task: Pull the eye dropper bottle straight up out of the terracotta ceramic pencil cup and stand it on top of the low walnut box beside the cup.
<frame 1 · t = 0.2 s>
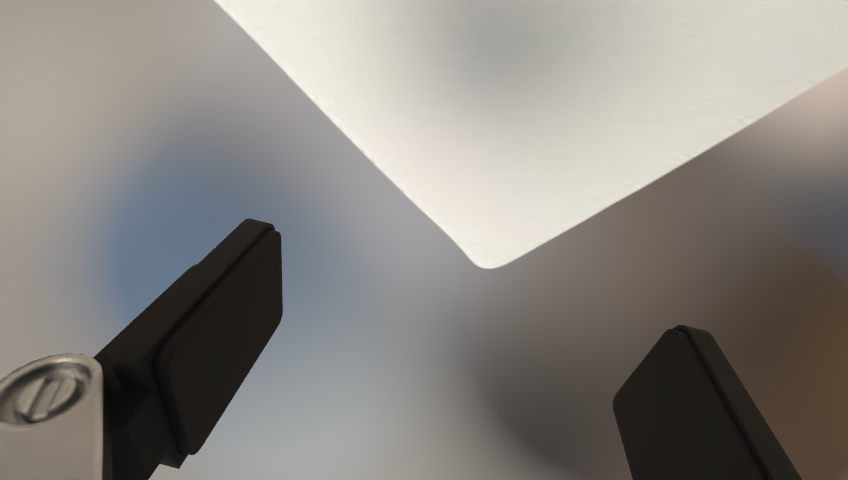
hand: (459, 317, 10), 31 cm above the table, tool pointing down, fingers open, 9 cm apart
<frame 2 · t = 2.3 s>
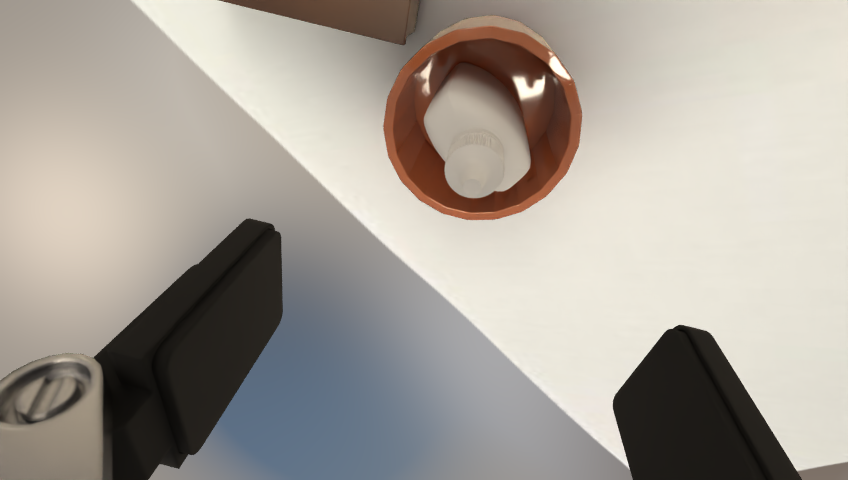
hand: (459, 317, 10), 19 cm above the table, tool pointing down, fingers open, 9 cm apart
eye dropper bottle: (482, 103, 25), resting on pencil cup
pencil cup: (482, 102, 25), on the table
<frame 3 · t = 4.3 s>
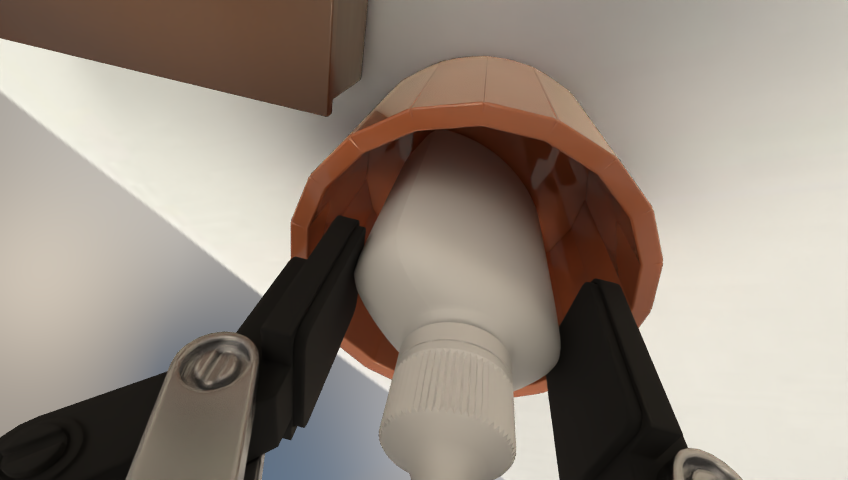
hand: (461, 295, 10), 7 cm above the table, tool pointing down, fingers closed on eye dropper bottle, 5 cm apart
eye dropper bottle: (472, 186, 16), resting on pencil cup, touching gripper
pencil cup: (472, 185, 16), on the table
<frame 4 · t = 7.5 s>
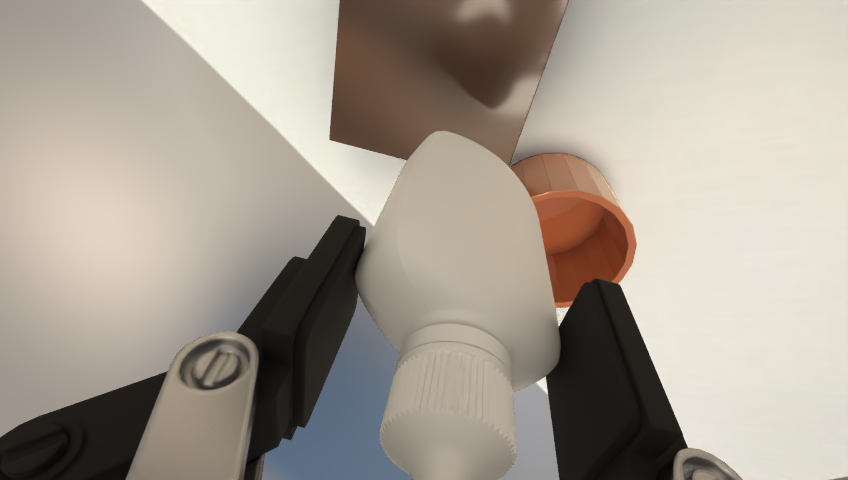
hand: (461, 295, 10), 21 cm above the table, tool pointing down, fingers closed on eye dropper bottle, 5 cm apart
eye dropper bottle: (473, 187, 16), point 15 cm above the table, touching gripper
pencil cup: (547, 209, 32), on the table
walnut box: (446, 42, 26), on the table
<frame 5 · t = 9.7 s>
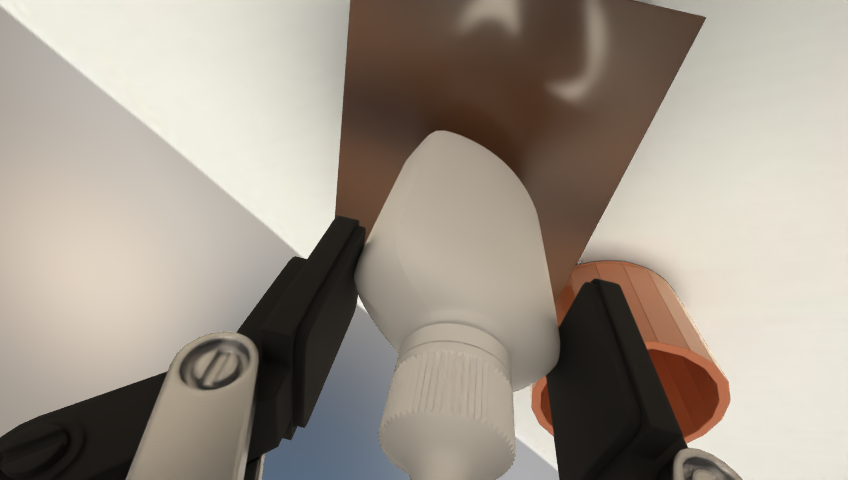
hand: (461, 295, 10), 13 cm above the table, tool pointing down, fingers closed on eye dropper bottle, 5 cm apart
eye dropper bottle: (472, 187, 16), point 6 cm above the table, touching gripper
pencil cup: (598, 318, 26), on the table
walnut box: (477, 138, 21), on the table
when the fingers open (11 cm above the table, at t = 10.9 s): eye dropper bottle stays where it is, resting on walnut box.
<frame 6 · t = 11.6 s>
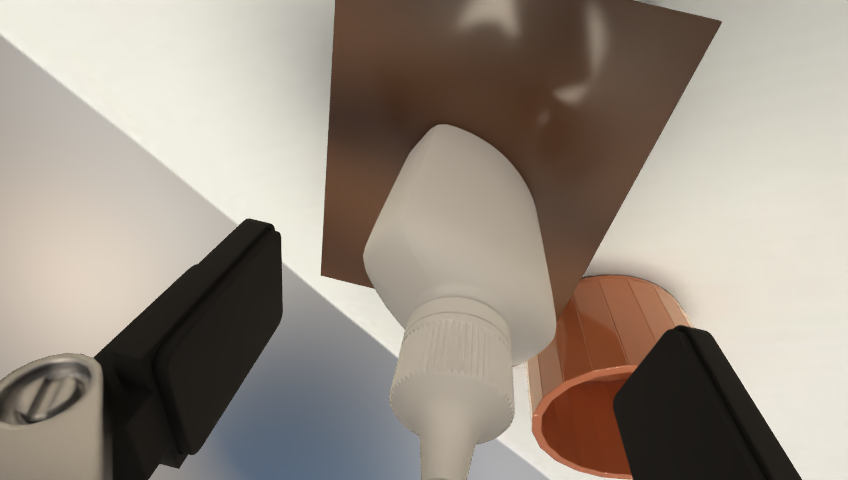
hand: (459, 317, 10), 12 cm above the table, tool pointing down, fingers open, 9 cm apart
eye dropper bottle: (472, 179, 16), point 4 cm above the table, touching walnut box
pencil cup: (600, 334, 25), on the table
walnut box: (474, 147, 20), on the table
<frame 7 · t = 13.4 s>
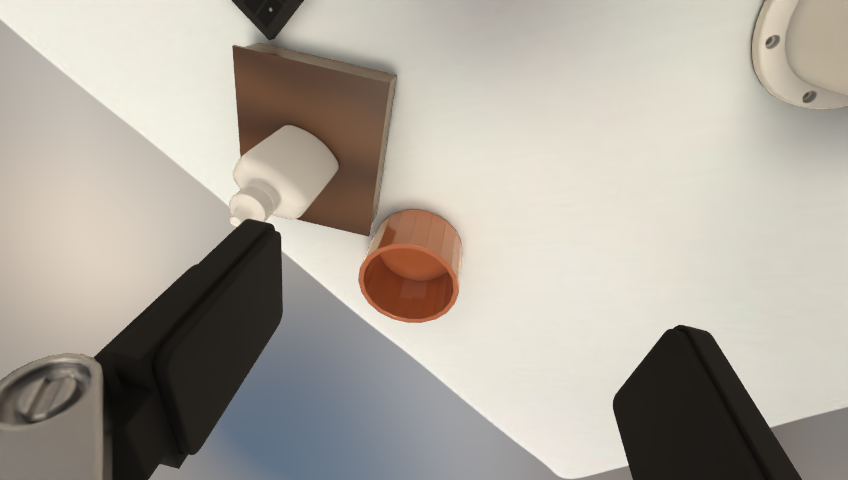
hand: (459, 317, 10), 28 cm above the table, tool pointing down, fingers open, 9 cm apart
eye dropper bottle: (310, 151, 34), point 4 cm above the table, touching walnut box
pencil cup: (417, 248, 43), on the table
walnut box: (324, 137, 37), on the table
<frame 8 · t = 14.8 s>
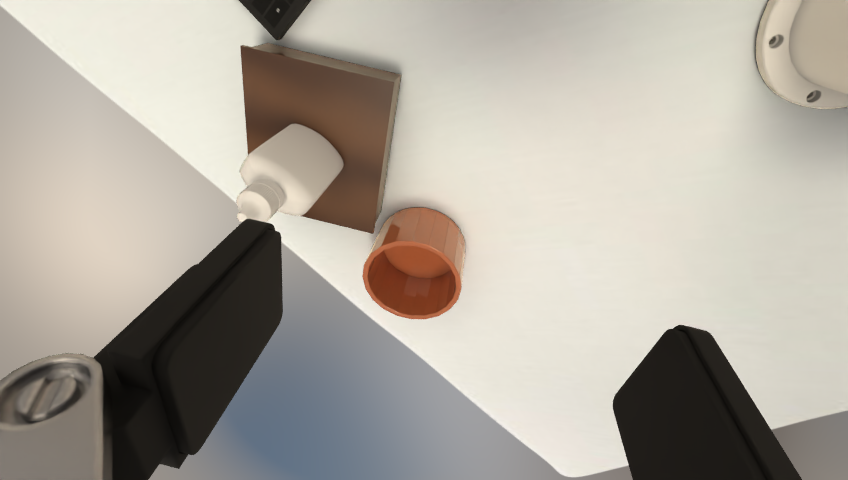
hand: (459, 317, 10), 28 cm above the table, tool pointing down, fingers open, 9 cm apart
eye dropper bottle: (315, 149, 35), point 4 cm above the table, touching walnut box
pencil cup: (421, 245, 43), on the table
walnut box: (329, 135, 38), on the table
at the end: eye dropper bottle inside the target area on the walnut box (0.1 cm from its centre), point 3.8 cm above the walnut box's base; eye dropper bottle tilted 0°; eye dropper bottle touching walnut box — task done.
